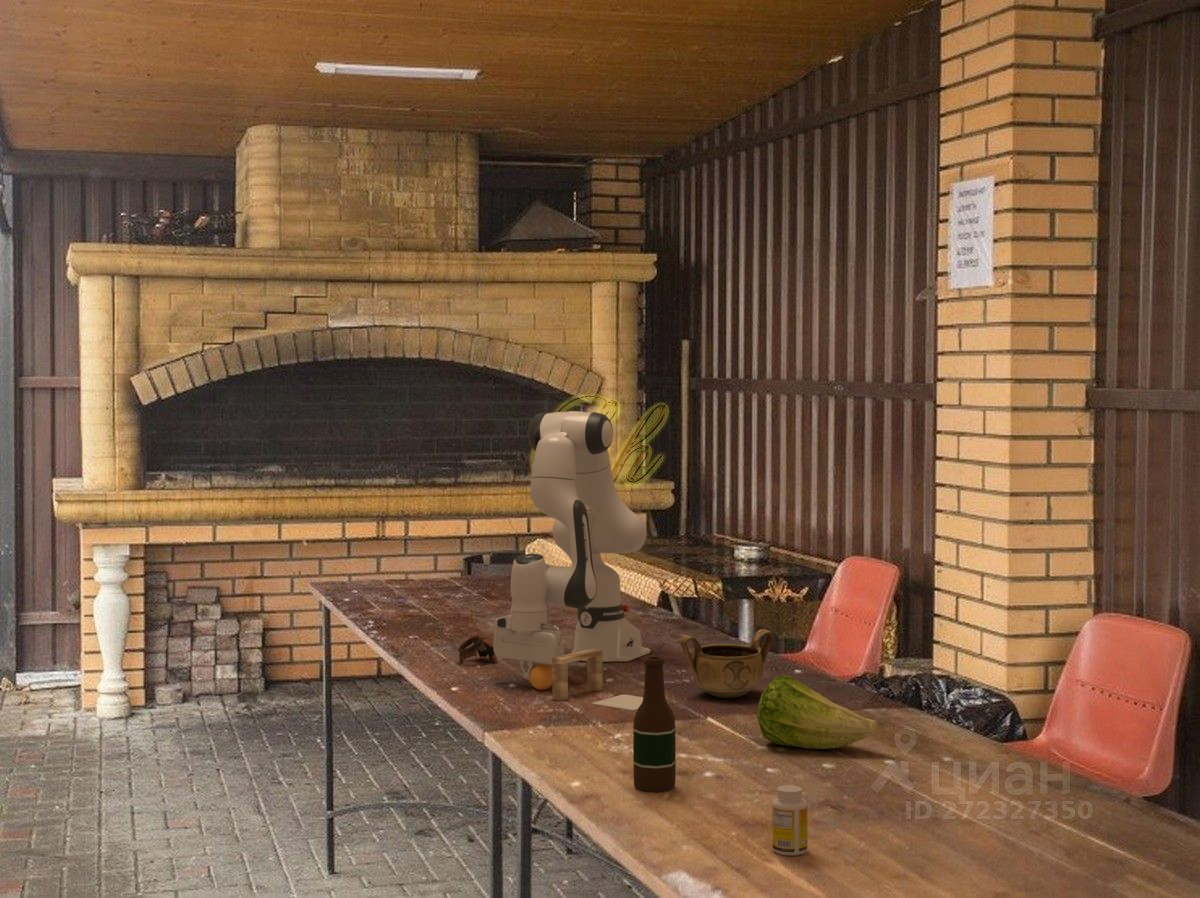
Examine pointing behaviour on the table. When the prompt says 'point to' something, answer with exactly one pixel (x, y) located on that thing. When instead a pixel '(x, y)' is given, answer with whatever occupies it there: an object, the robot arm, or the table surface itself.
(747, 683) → the ceramic bowl
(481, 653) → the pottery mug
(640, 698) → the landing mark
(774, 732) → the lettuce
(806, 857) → the table surface
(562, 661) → the bridge
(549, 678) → the ball
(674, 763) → the beer bottle
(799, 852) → the supplement bottle
